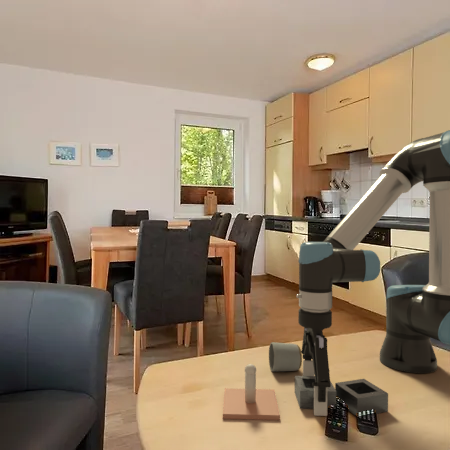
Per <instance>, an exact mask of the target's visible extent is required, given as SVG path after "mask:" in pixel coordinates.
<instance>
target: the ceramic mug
mask: <svg viewBox="0 0 450 450" xmlns="http://www.w3.org/2000/svg"><path fill="white" fill-rule="evenodd" d="M301 351H302V348H301V347H300V345H298V344H296V343H287V342H286V343H285V342H273V341H272V342H270V344H269V347H268V364H269V369H270V371H271V372H295V371H299V370H300V369H301V368H302V366H303V354H302V353H301Z"/></svg>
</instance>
